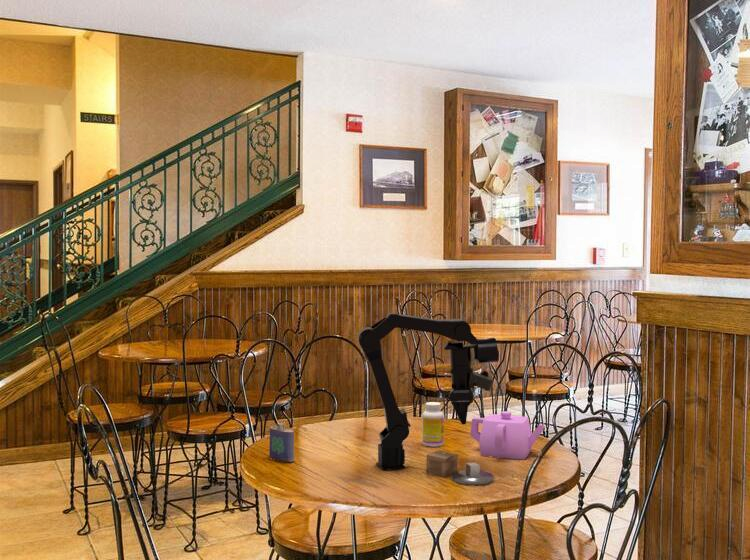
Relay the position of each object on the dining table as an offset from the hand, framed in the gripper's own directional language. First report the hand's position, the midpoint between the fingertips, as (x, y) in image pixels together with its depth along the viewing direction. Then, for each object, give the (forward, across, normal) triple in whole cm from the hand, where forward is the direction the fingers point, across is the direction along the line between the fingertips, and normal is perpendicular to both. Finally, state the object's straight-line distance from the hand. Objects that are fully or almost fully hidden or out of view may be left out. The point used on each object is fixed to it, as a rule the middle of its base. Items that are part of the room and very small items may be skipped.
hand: (464, 420), depth 203 cm
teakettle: (+14, +15, -12) cm, 24 cm away
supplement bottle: (+12, +21, +11) cm, 27 cm away
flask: (+10, -2, +53) cm, 54 cm away
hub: (+13, -13, -2) cm, 18 cm away
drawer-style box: (+12, -8, +6) cm, 16 cm away
